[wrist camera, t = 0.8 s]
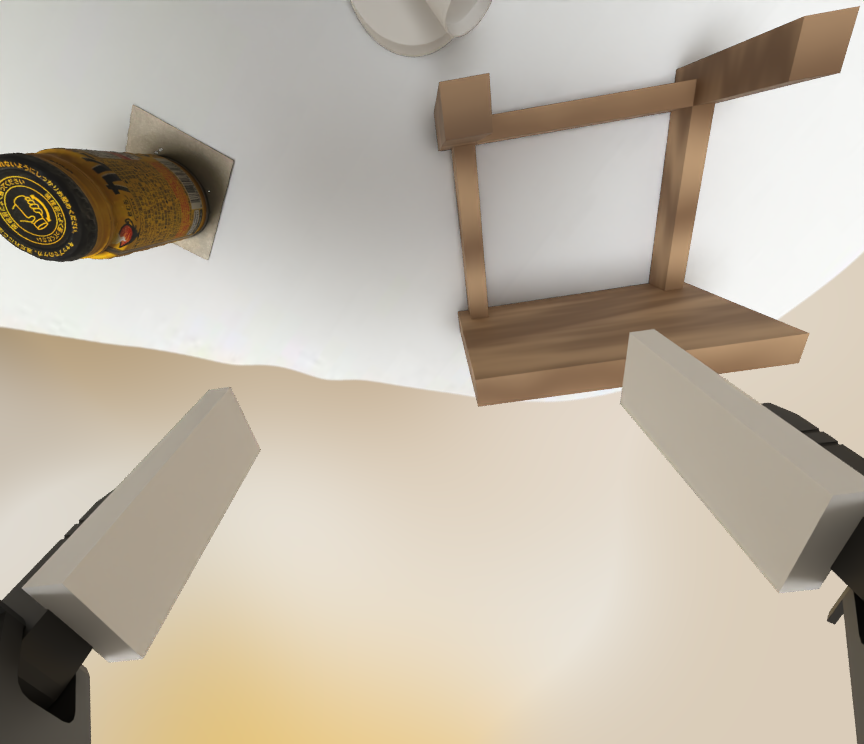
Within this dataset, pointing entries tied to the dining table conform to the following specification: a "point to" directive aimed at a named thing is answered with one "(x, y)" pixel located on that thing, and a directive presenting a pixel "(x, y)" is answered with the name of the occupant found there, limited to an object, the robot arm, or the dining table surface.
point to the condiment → (115, 195)
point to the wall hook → (418, 22)
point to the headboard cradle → (666, 291)
